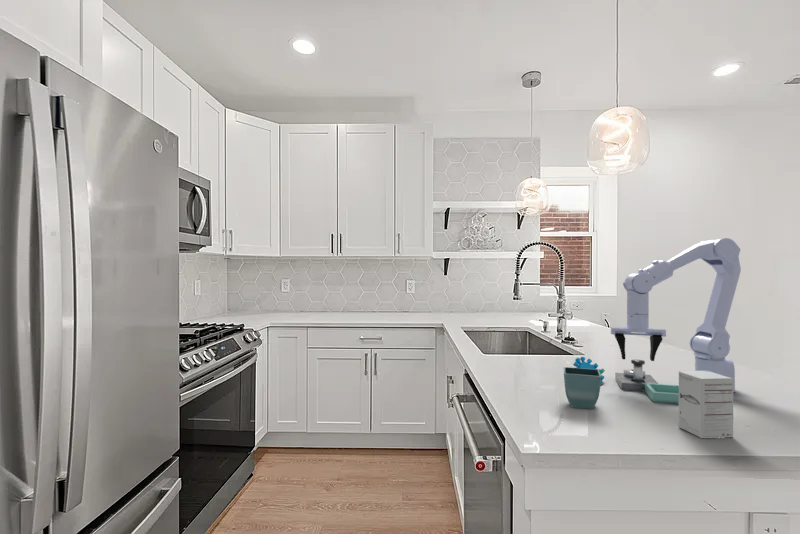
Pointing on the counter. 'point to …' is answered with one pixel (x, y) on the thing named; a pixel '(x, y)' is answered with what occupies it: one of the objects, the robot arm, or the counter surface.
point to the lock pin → (638, 370)
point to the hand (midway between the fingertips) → (637, 359)
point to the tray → (662, 393)
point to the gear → (587, 365)
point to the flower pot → (582, 386)
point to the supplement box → (706, 404)
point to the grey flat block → (632, 380)
